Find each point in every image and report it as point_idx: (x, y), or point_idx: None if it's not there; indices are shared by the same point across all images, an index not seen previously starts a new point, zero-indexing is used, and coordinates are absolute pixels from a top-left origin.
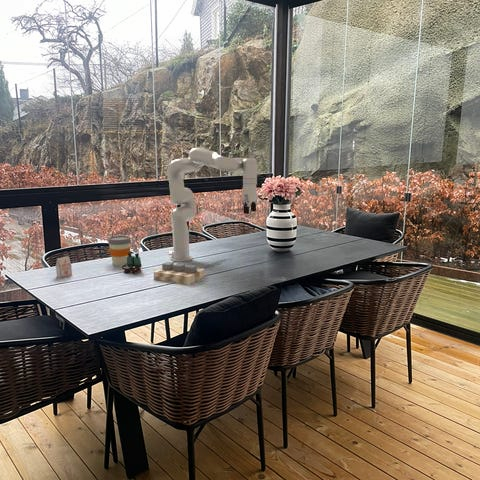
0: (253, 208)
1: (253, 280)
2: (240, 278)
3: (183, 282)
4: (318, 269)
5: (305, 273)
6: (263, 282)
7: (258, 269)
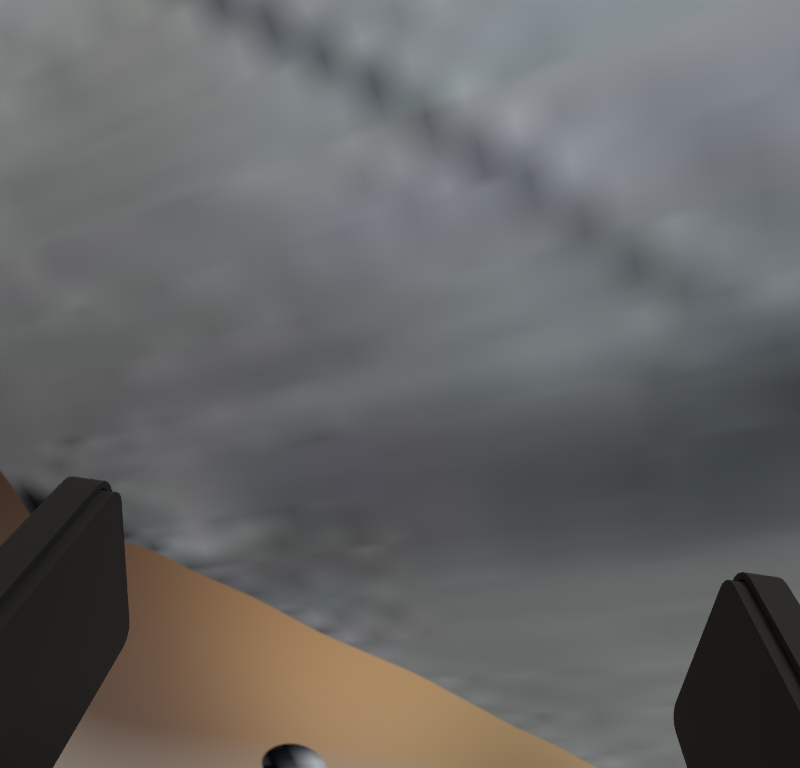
0: (730, 751)
1: (73, 356)
2: (71, 240)
3: None
4: (536, 706)
5: (404, 646)
6: (64, 435)
7: (405, 311)
